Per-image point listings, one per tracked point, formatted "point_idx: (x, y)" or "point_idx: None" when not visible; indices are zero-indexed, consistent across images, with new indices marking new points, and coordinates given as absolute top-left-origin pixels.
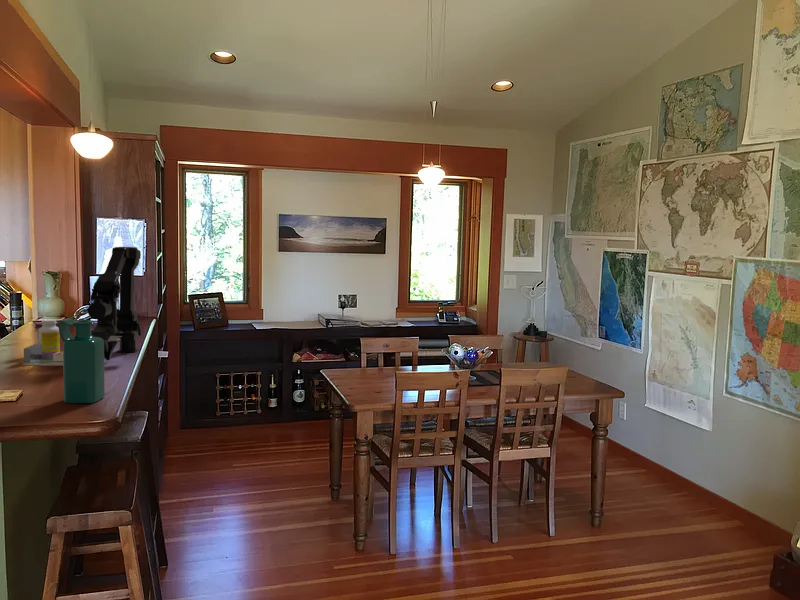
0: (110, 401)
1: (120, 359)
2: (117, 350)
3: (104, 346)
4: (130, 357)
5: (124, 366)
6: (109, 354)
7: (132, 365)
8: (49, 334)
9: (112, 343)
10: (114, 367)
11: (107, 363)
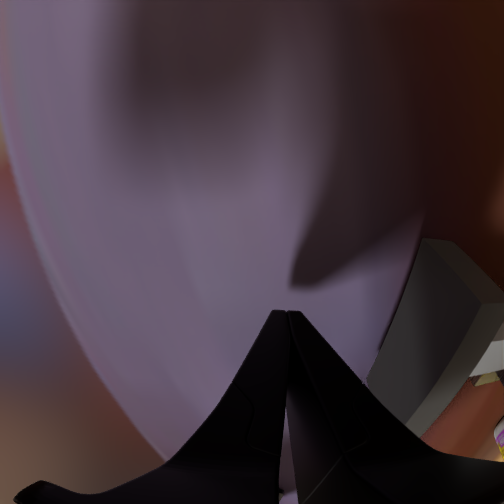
0: None
1: (214, 404)
2: (280, 496)
3: (353, 453)
4: (173, 434)
5: (65, 131)
6: (260, 351)
7: (23, 186)
8: None
9: (127, 501)
10: (147, 66)
11: (284, 284)
